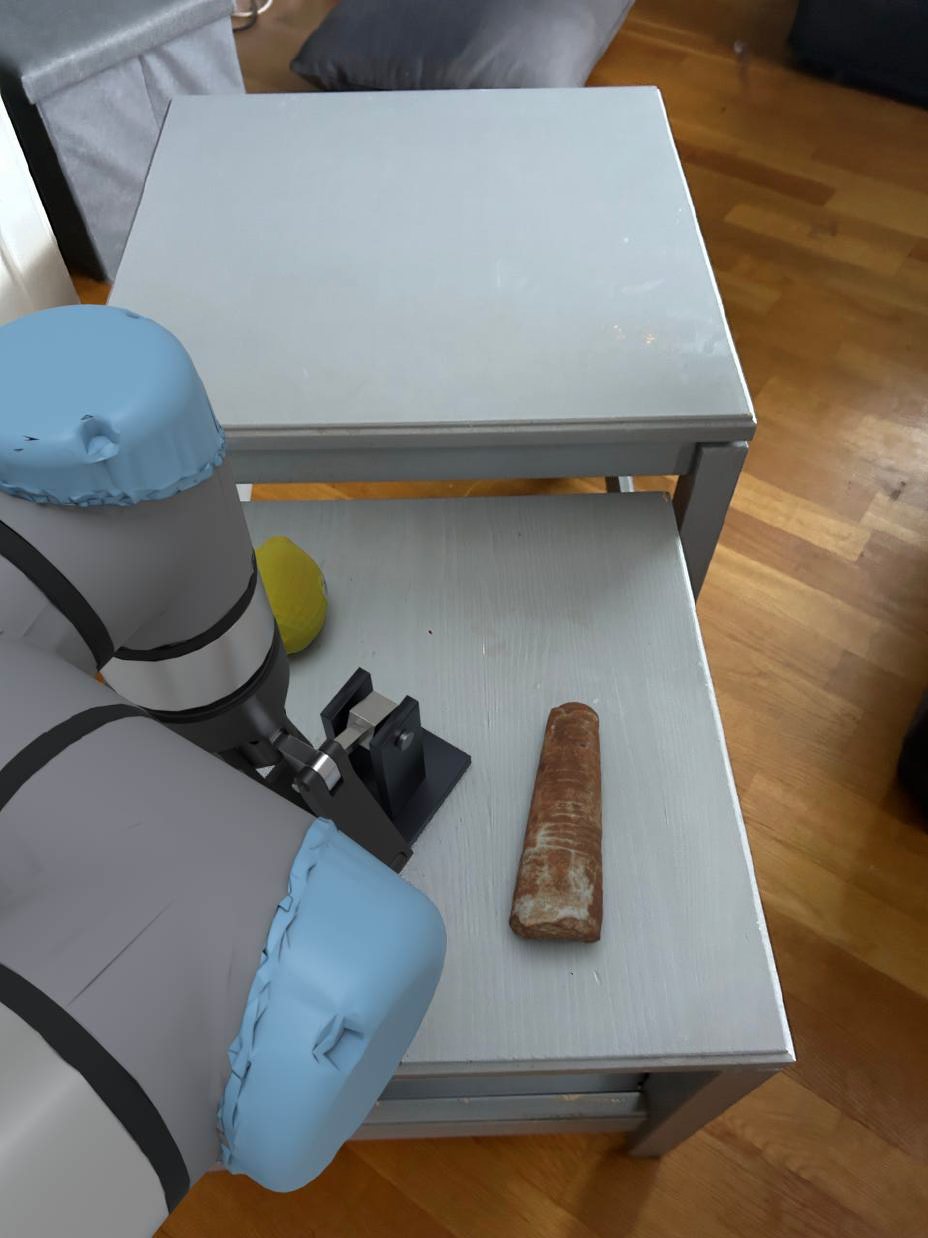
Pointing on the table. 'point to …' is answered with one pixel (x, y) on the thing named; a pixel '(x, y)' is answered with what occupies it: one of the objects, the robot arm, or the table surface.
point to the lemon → (293, 591)
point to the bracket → (398, 759)
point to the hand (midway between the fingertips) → (275, 829)
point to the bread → (563, 835)
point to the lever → (365, 721)
